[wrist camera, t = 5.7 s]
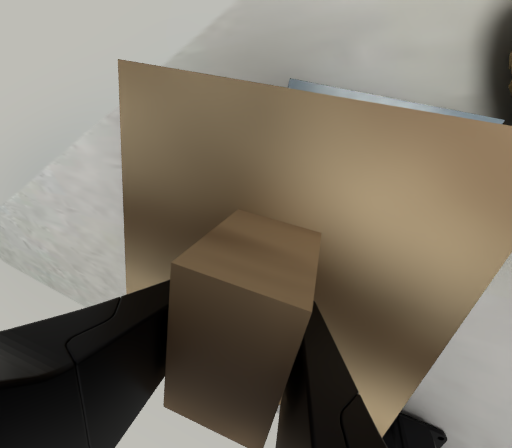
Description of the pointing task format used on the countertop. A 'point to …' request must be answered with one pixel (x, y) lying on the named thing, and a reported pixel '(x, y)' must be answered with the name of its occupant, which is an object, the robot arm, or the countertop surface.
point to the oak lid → (303, 235)
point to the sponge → (511, 66)
